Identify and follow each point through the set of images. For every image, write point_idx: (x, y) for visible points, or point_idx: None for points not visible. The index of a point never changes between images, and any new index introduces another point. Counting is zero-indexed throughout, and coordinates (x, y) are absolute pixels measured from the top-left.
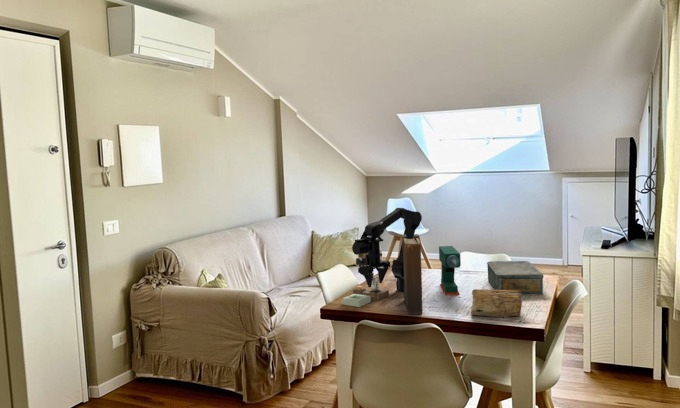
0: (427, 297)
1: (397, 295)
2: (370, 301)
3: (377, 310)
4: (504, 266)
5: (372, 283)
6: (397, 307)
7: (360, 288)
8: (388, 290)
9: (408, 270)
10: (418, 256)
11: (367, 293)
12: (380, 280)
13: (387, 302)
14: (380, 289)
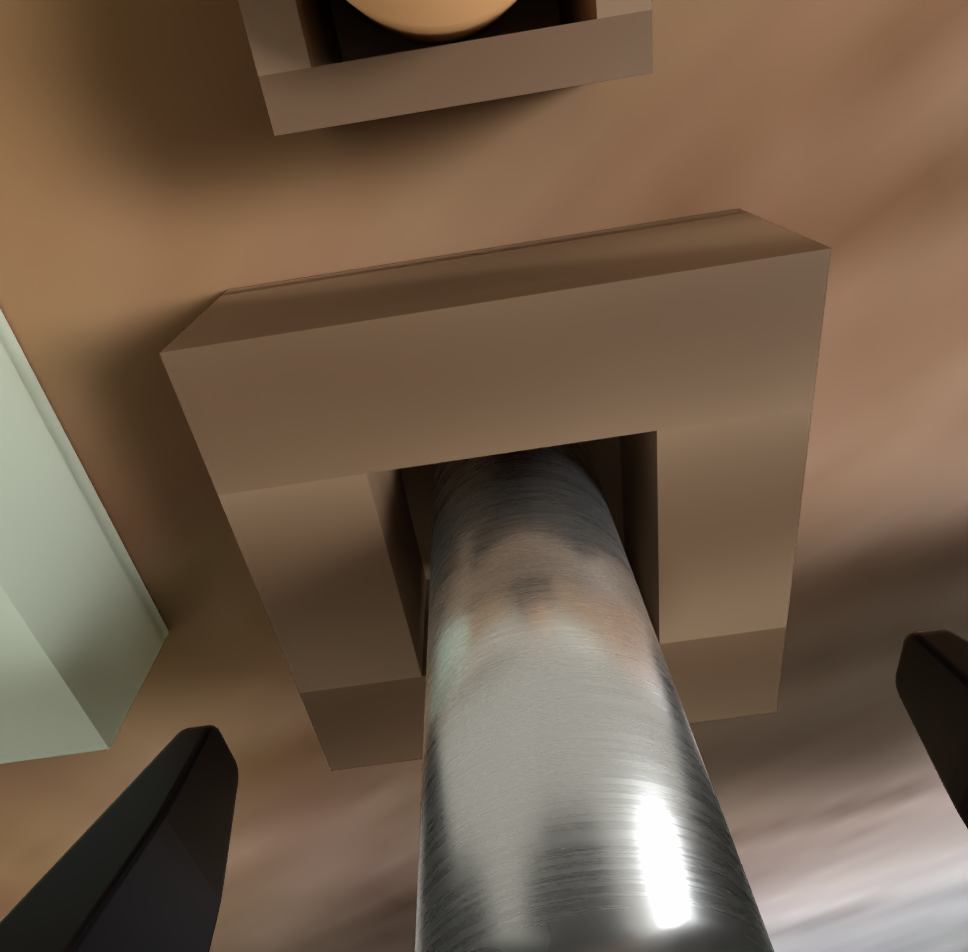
0: (905, 913)
1: (882, 640)
2: (150, 656)
3: (12, 886)
4: None
5: (424, 772)
6: (310, 936)
7: (368, 10)
8: (762, 708)
9: None
10: None
11: (239, 534)
12: (964, 747)
13: (404, 768)
14: (755, 553)
